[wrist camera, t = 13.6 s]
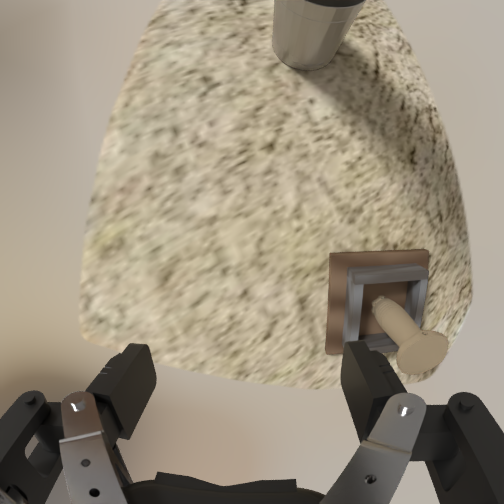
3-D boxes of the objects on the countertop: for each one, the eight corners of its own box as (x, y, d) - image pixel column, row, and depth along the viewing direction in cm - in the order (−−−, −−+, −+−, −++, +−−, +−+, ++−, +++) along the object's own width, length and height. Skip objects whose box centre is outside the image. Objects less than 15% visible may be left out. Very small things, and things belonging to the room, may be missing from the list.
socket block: (329, 252, 40) (338, 263, 35) (424, 248, 40) (442, 257, 34) (325, 349, 44) (331, 368, 39) (411, 338, 43) (425, 354, 38)
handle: (360, 292, 40) (403, 342, 25) (399, 286, 40) (451, 330, 25) (359, 321, 41) (397, 379, 26) (397, 315, 41) (443, 366, 26)
